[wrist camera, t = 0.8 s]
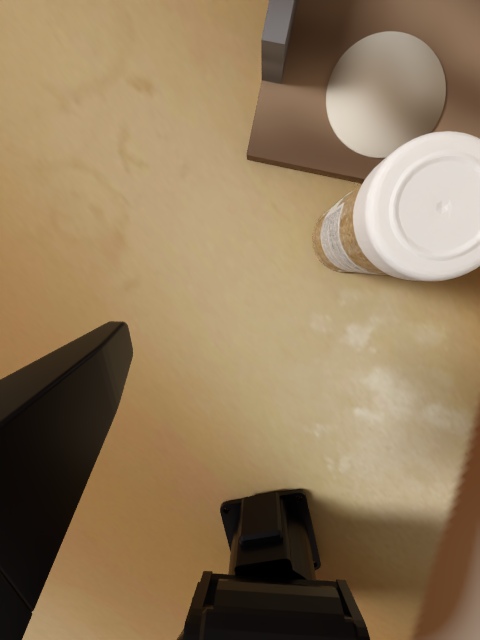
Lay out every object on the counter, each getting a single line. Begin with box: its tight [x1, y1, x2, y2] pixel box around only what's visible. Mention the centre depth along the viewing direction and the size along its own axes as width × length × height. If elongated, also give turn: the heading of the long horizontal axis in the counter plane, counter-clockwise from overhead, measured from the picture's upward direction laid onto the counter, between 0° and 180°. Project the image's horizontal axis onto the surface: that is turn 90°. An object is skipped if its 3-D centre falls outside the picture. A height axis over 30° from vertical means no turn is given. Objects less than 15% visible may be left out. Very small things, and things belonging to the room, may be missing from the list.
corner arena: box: [247, 0, 480, 183], centre depth 20 cm, size 13×15×5 cm
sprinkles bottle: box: [312, 131, 480, 281], centre depth 17 cm, size 5×5×14 cm
